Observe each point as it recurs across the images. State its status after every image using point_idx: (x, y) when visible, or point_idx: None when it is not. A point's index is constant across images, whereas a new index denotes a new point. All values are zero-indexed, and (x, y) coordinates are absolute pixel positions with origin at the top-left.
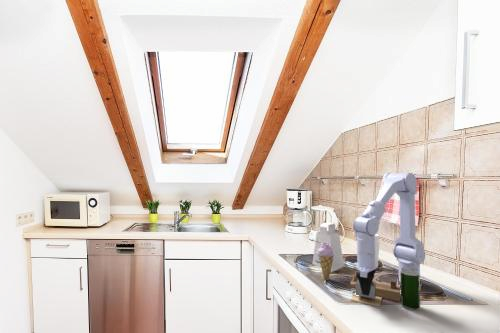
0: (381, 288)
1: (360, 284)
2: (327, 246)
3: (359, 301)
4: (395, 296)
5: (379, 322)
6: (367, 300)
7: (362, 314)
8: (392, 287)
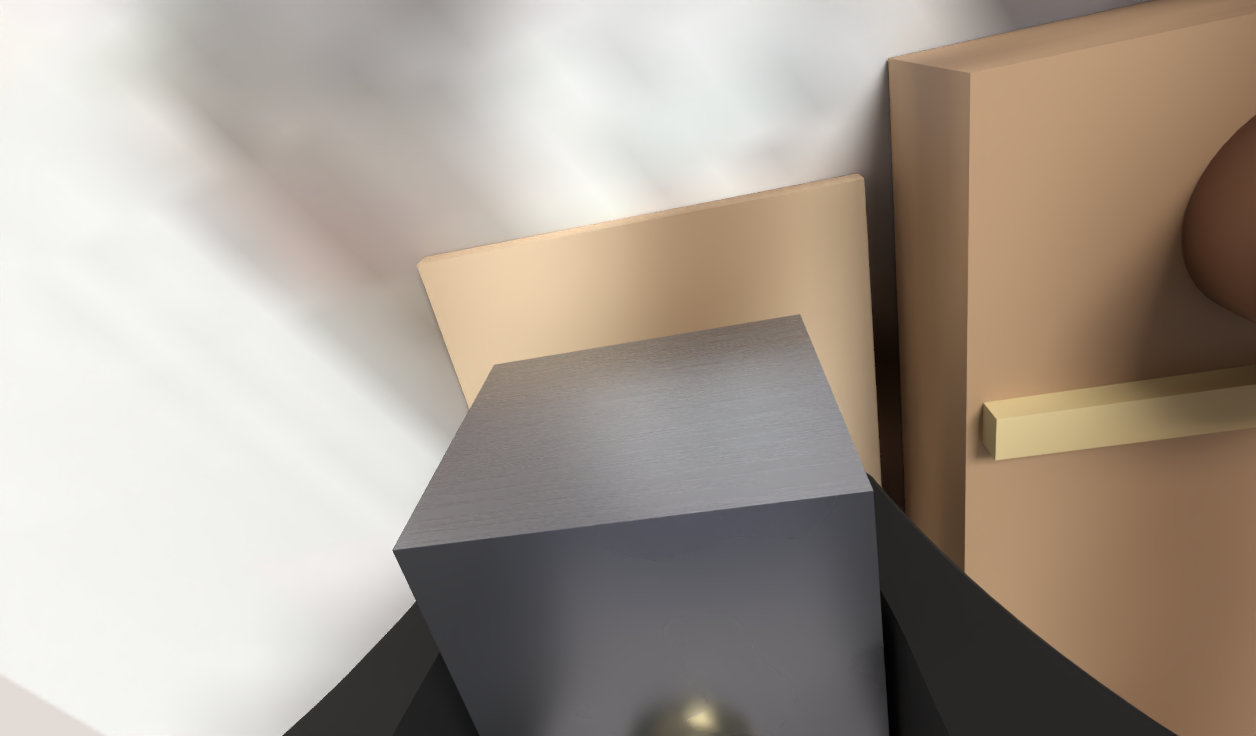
0: None
1: (321, 709)
2: None
3: (468, 403)
4: None
5: (165, 689)
6: None
7: (152, 525)
8: None
